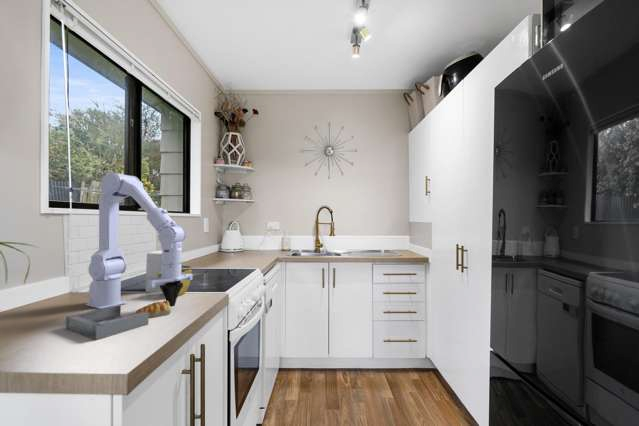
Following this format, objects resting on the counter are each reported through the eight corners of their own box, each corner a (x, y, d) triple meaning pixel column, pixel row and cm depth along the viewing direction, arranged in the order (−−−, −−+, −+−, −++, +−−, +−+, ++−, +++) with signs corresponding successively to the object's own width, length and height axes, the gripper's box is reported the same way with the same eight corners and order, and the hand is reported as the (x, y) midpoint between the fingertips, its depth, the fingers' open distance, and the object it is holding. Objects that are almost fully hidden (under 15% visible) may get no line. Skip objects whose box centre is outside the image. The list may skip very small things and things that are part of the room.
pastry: (137, 321, 87) (137, 308, 87) (132, 316, 92) (132, 303, 92) (172, 314, 93) (172, 302, 93) (166, 310, 98) (166, 298, 98)
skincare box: (154, 287, 128) (155, 250, 129) (170, 287, 129) (171, 250, 129) (144, 292, 120) (145, 252, 120) (162, 292, 121) (163, 252, 121)
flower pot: (156, 297, 113) (156, 272, 113) (171, 291, 122) (172, 269, 122) (178, 298, 111) (178, 273, 112) (191, 292, 120) (192, 269, 120)
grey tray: (65, 328, 80) (65, 316, 80) (117, 315, 92) (117, 304, 92) (96, 340, 73) (96, 326, 73) (148, 324, 84) (148, 312, 84)
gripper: (158, 267, 91) (157, 313, 90) (198, 261, 103) (198, 302, 103) (144, 265, 94) (143, 310, 94) (184, 260, 107) (184, 299, 106)
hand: (171, 305), depth 99 cm, fingers closed
